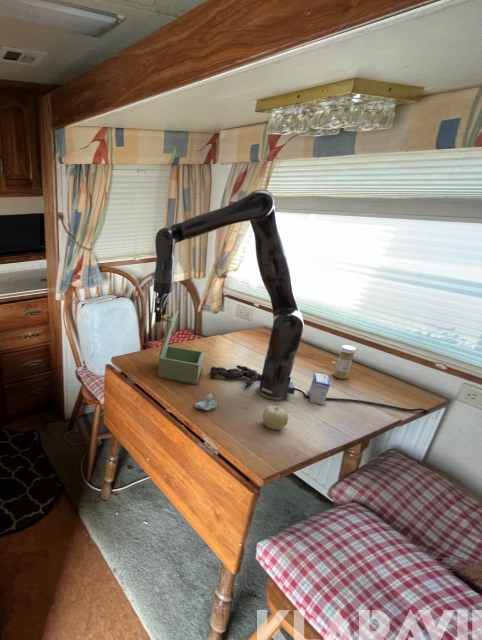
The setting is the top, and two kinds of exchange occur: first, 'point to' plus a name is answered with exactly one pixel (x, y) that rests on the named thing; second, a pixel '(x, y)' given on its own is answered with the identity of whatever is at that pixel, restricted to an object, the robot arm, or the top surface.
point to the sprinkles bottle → (344, 361)
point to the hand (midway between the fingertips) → (160, 318)
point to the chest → (180, 364)
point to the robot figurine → (236, 374)
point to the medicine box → (319, 388)
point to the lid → (168, 330)
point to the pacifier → (206, 403)
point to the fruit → (275, 417)
